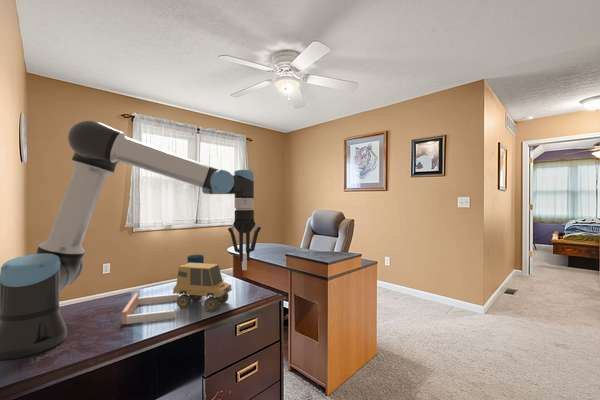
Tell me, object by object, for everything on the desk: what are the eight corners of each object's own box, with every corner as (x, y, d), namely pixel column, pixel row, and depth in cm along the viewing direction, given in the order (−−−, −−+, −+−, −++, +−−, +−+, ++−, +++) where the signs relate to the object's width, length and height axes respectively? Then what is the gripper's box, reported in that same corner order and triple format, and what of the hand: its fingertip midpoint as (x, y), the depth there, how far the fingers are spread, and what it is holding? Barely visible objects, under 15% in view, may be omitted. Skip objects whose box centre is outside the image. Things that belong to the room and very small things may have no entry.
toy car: (219, 313, 98) (220, 270, 98) (171, 308, 102) (171, 267, 102) (232, 302, 108) (232, 264, 108) (188, 298, 112) (188, 261, 112)
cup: (201, 287, 127) (202, 253, 127) (205, 291, 121) (205, 256, 121) (185, 289, 123) (186, 255, 123) (188, 293, 118) (188, 258, 118)
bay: (121, 324, 88) (122, 311, 88) (134, 304, 105) (135, 293, 105) (174, 318, 93) (174, 306, 93) (178, 299, 111) (178, 289, 111)
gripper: (228, 209, 104) (228, 273, 104) (262, 209, 109) (262, 270, 109) (226, 209, 111) (226, 268, 111) (258, 208, 116) (259, 266, 116)
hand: (244, 269), depth 110 cm, fingers closed
